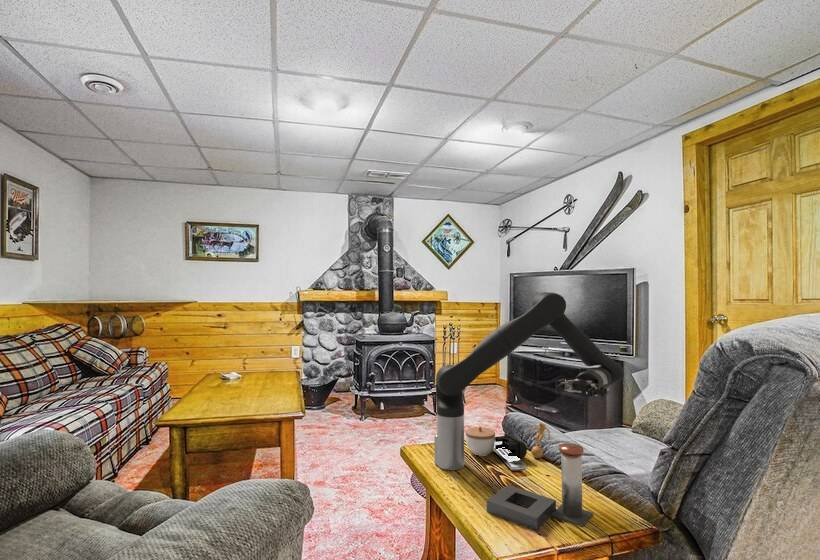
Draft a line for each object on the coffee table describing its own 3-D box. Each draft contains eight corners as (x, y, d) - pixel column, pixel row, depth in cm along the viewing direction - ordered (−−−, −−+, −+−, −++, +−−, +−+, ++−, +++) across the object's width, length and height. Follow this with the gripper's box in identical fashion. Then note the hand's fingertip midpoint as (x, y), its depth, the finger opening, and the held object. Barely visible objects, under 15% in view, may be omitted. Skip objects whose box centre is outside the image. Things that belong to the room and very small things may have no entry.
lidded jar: (475, 460, 148) (475, 433, 149) (460, 450, 158) (460, 424, 159) (501, 455, 153) (501, 429, 153) (484, 446, 163) (484, 421, 163)
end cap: (527, 460, 149) (527, 441, 149) (509, 463, 146) (509, 443, 146) (511, 450, 158) (511, 432, 158) (494, 453, 156) (494, 434, 156)
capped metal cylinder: (556, 514, 112) (555, 447, 112) (565, 505, 117) (564, 441, 117) (580, 521, 108) (578, 453, 109) (587, 512, 113) (586, 446, 113)
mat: (551, 516, 112) (551, 514, 112) (562, 504, 118) (562, 502, 118) (582, 526, 107) (582, 525, 107) (593, 514, 113) (593, 512, 113)
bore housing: (486, 511, 114) (486, 500, 114) (508, 495, 123) (508, 484, 123) (536, 530, 105) (536, 518, 105) (555, 511, 114) (555, 500, 114)
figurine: (524, 455, 153) (524, 421, 154) (535, 451, 157) (535, 418, 157) (542, 462, 146) (542, 427, 147) (554, 459, 150) (554, 424, 150)
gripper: (568, 367, 140) (549, 375, 127) (615, 373, 131) (599, 381, 118) (569, 390, 140) (549, 400, 127) (615, 397, 130) (599, 409, 118)
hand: (573, 391), depth 123 cm, fingers open, 8 cm apart
